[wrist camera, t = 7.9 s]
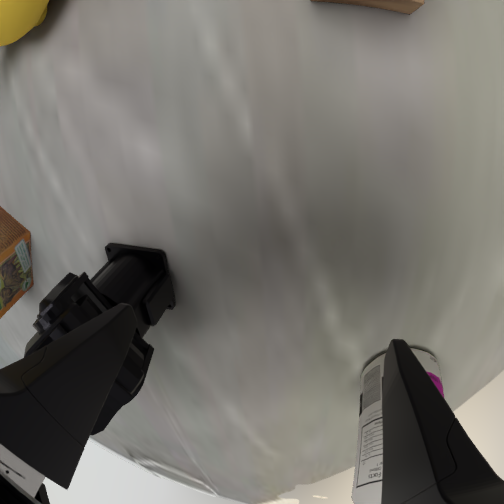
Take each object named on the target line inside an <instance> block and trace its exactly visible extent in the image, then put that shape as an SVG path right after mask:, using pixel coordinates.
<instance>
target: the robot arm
mask: <svg viewBox="0 0 504 504" xmlns="http://www.w3.org/2000/svg"><path fill="white" fill-rule="evenodd" d="M105 250H106V254H107V257H108V260H109V261H108V262H107V263H106V264H105V265H104V266H103V267H102V268H101V269H100V270H99V271H98V272H97V273H96V274H95V276H94V277H93V278H92V279H91V280H90V279H89V278H88V275H87V274H86V273H85V272H83V273H82V274H81V275H80V276H77V275H74V274H72V273H69V274H67V275H66V276H65V277H64V278H63V279H62V280H61V281H60V282H59V283H58V284H57V285H56V286H55V287H54V288H53V289H52V290H51V292H50V293H49V294H48V295H47V296H46V297H45V298H44V299H43V300H42V301H41V302H40V303H39V314H38V316H37V318H38V319H37V320H36V321H35V323H34V324H33V327H34V328H35V329H36V330H37V331H38V332H37V333H36V334H35V335H34V336H33V337H32V338H31V340H30V341H29V342H28V343H27V345H26V348H25V354H24V358H23V359H21V360H19V361H17V362H15V363H12V364H10V365H8V366H6V367H4V368H2V369H0V504H50V503H49V499H48V496H47V492H46V488H45V485H44V484H43V483H42V482H43V480H44V479H45V477H47V478H49V479H50V480H52V481H53V482H55V483H56V484H58V485H60V486H62V487H63V488H65V489H68V487H69V485H70V483H71V480H72V477H73V475H74V472H75V470H76V467H77V465H78V462H79V460H80V457H81V455H82V452H83V450H84V447H85V445H86V443H87V440H88V438H89V436H90V435H95V434H97V433H99V432H101V431H103V430H104V429H105V428H106V426H107V425H108V423H109V422H110V421H111V419H112V418H113V416H114V415H115V414H116V413H117V411H118V410H119V409H120V408H121V407H122V406H123V405H125V404H127V403H129V402H130V401H131V400H132V399H133V398H134V397H135V396H136V395H137V394H138V392H139V391H140V389H141V387H142V386H143V383H144V380H145V377H146V374H147V370H148V367H149V364H150V361H151V358H152V354H153V351H154V348H153V347H152V346H151V345H150V344H148V343H147V342H146V341H145V340H144V339H143V336H144V335H145V333H146V332H147V330H148V329H149V327H150V326H155V325H156V324H157V322H158V321H159V319H160V318H161V316H162V315H163V313H164V311H165V310H166V309H171V310H172V309H173V308H174V307H175V300H174V292H173V288H172V283H171V278H170V275H169V272H168V267H167V262H166V257H165V254H164V253H163V252H162V251H161V250H155V249H148V248H140V247H133V246H126V245H119V244H111V243H109V244H108V245H107V246H105ZM158 255H159V256H160V257H159V256H158ZM382 426H383V471H382V496H381V504H504V481H503V480H502V479H501V478H500V477H499V476H498V475H497V474H496V473H495V472H494V471H493V469H492V468H491V467H490V465H489V464H488V462H487V461H486V460H485V458H484V457H483V456H482V454H481V453H480V452H479V451H478V449H477V448H476V446H475V445H474V444H473V442H472V441H471V439H470V438H469V437H468V435H467V434H466V432H465V430H464V429H463V427H462V426H461V424H460V423H459V421H458V419H457V418H455V415H454V413H453V412H452V410H451V408H450V407H449V405H448V404H447V402H446V401H445V399H444V397H443V396H442V394H441V393H440V391H439V390H438V388H437V387H436V385H435V384H434V382H433V381H432V379H431V378H430V376H429V375H428V373H427V372H426V370H425V369H424V367H423V366H422V364H421V363H420V362H419V360H418V359H417V357H416V356H415V354H414V353H413V352H412V350H411V349H410V347H409V346H408V344H407V343H406V342H405V341H404V340H402V339H393V340H391V342H390V345H389V347H388V350H387V352H386V355H385V358H384V374H383V392H382Z"/></svg>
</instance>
